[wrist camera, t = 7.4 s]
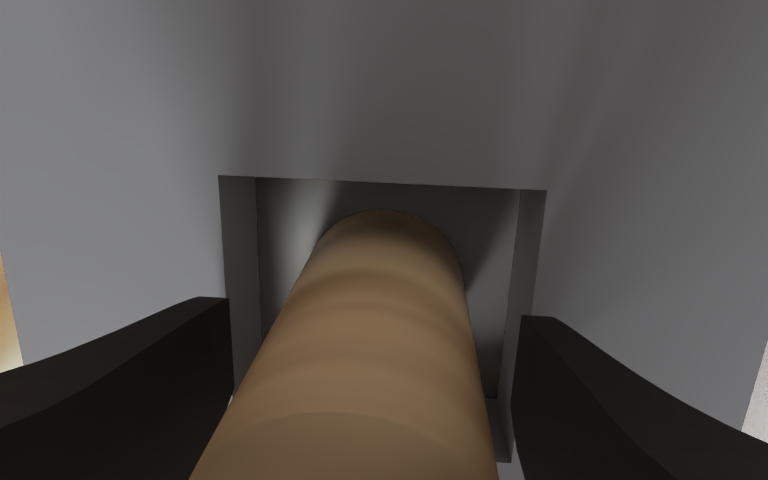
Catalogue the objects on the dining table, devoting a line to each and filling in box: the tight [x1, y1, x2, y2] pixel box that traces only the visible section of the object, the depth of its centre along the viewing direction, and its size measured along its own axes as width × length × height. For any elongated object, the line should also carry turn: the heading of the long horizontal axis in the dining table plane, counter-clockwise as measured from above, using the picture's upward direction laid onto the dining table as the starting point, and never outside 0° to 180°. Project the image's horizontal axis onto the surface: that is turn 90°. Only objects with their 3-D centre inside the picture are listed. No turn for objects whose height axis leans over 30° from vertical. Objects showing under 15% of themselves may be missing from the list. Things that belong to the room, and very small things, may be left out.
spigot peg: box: [189, 209, 499, 480], centre depth 10 cm, size 4×4×8 cm
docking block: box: [0, 0, 768, 480], centre depth 13 cm, size 16×16×2 cm
